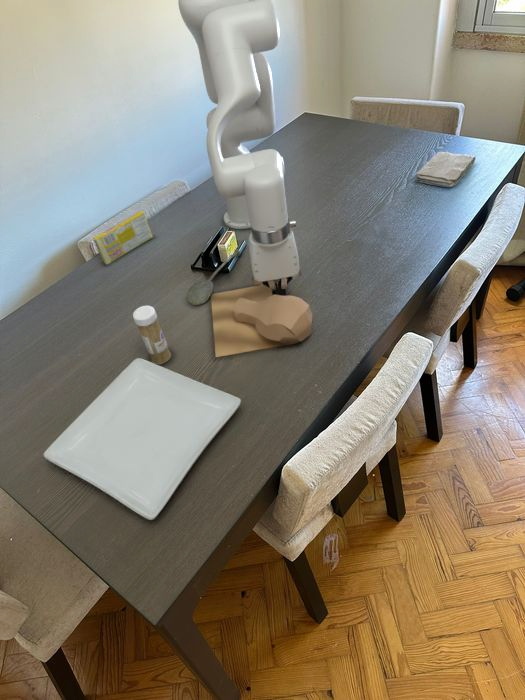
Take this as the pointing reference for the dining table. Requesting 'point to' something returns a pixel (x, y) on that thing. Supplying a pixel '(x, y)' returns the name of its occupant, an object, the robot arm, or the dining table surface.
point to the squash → (276, 317)
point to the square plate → (143, 435)
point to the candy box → (123, 237)
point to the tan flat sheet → (238, 323)
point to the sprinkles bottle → (152, 334)
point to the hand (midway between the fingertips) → (279, 299)
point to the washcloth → (445, 169)
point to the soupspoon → (204, 287)
